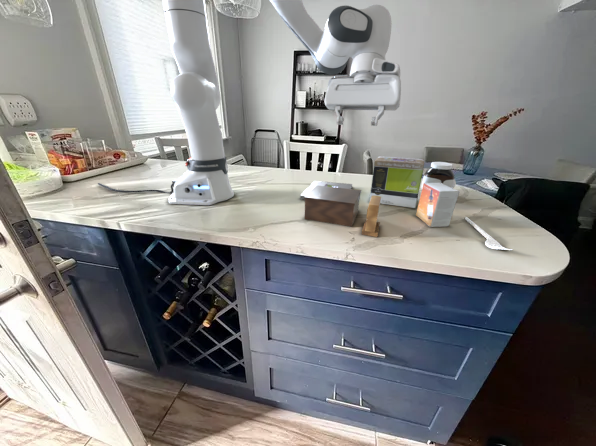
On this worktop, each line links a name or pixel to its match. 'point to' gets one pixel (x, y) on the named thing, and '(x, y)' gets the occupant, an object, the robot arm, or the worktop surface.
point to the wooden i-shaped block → (372, 218)
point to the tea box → (397, 180)
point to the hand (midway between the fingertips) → (356, 124)
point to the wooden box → (332, 205)
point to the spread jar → (440, 174)
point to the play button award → (329, 184)
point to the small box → (436, 204)
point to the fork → (487, 237)
